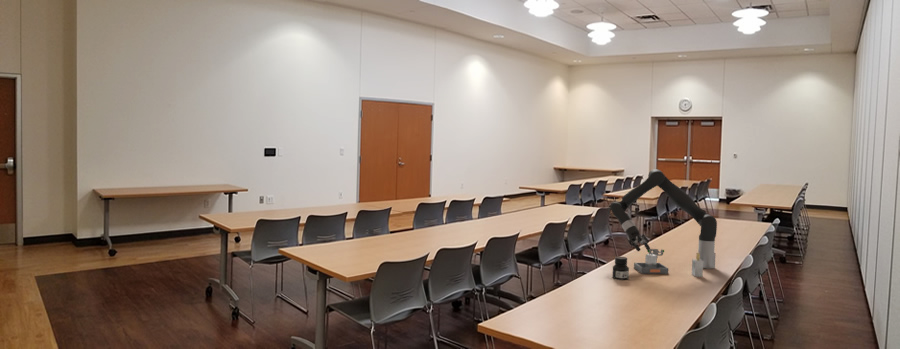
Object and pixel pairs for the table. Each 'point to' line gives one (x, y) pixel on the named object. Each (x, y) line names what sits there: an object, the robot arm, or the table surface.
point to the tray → (651, 269)
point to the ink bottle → (620, 268)
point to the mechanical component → (655, 252)
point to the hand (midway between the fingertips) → (644, 250)
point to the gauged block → (697, 266)
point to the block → (650, 261)
